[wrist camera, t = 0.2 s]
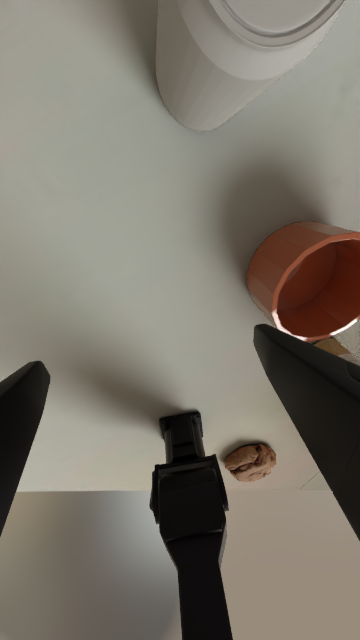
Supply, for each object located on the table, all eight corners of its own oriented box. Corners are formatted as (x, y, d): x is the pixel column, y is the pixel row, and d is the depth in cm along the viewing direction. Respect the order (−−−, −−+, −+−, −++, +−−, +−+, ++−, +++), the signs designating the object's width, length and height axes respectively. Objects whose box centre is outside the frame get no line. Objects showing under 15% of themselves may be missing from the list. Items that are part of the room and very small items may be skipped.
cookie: (232, 475, 48) (236, 492, 45) (218, 452, 42) (222, 470, 40) (277, 461, 47) (284, 477, 44) (269, 436, 41) (277, 452, 39)
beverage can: (143, 18, 14) (124, -408, 4) (242, -10, 14) (489, -527, 4) (168, 143, 18) (193, 87, 7) (248, 121, 17) (387, 34, 7)
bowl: (325, 304, 27) (365, 332, 22) (245, 317, 27) (267, 348, 22) (348, 214, 22) (408, 224, 17) (248, 229, 22) (278, 243, 17)
